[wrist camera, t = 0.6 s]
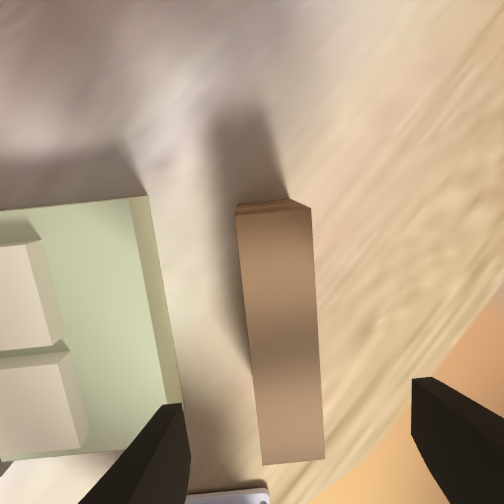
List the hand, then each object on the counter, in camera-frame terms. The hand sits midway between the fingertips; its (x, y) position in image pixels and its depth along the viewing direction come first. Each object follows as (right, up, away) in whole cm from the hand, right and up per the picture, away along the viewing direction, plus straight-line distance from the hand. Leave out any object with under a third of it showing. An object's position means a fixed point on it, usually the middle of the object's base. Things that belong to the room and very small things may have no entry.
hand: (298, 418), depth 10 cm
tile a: (-13, -3, +7) cm, 15 cm away
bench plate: (-12, +1, +10) cm, 15 cm away
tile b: (-14, +3, +6) cm, 15 cm away
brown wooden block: (0, +2, +10) cm, 10 cm away
